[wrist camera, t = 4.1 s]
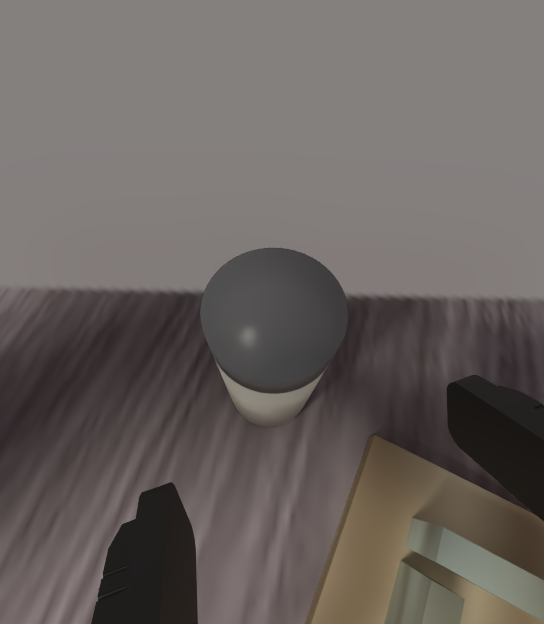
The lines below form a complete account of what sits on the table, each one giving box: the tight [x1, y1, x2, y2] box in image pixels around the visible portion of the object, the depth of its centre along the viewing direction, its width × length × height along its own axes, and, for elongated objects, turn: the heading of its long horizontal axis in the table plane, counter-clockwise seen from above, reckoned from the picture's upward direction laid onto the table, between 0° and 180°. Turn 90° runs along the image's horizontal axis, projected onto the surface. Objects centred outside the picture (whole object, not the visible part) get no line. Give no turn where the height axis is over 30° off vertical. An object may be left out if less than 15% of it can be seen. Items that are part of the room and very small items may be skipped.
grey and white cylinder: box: [200, 248, 348, 427], centre depth 14 cm, size 4×4×10 cm
